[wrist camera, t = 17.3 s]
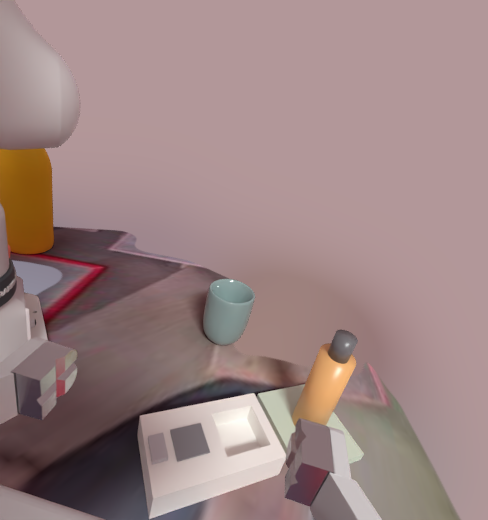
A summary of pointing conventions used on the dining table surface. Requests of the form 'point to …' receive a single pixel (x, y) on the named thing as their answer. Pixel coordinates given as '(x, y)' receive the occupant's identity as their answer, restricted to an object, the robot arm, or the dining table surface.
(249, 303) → the cup
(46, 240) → the beer bottle
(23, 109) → the robot arm
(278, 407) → the mat
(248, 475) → the white bottle holder
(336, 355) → the orange capped bottle
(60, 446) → the dining table surface
